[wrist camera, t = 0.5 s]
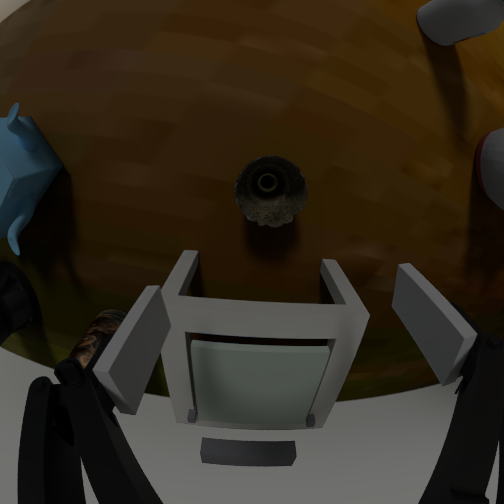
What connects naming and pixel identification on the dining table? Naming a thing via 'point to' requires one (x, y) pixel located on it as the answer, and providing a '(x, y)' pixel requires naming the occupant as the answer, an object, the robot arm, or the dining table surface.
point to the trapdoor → (254, 395)
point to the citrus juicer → (491, 166)
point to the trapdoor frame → (260, 325)
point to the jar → (97, 334)
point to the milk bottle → (459, 19)
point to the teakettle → (22, 173)
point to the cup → (271, 191)
